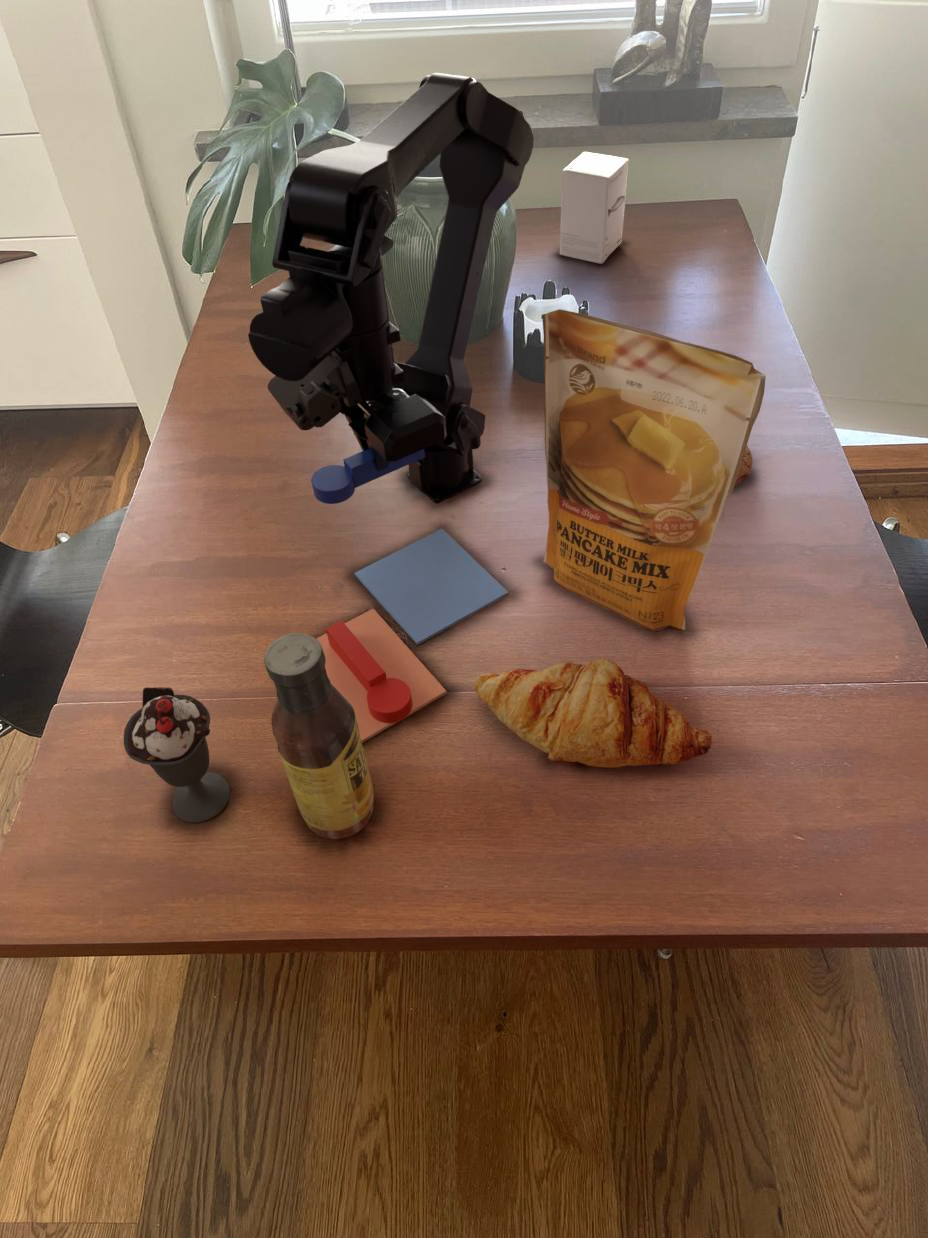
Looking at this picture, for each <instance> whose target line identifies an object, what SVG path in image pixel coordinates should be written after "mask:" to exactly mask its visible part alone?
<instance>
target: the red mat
mask: <svg viewBox="0 0 928 1238" xmlns="http://www.w3.org/2000/svg"><path fill="white" fill-rule="evenodd" d="M344 623H345V625H346V626H347V627H348V628H349V629H350V631H351V632H352V633H353V634H354V635H355V637H356V638H357V639H358V640H359V641H360V642H361V644H362V645H363V646H364V647H365V648H366V650H367V651H368V652H369V653H370V654H371V656H372V657H373V658H374V659H375V660H376V661H377V663H378V664H379V665H380V666H381V667H382V669H383V670H384V671H385V672H386V678H397V679H400V680H402V681H404V682H405V683H406V684H407V685H408V686H409V688H410V690H411V696H412V702H413V705H412V709H411V711H410V713H409V714H408V715H407V716H406V717H405V718H407V717H409V716H410V715H413V714H414V713H415V712H418V711H419V710H421V709H422V708H425V707H426V706H428V705H429V704H432V702H435V701H436V700H438V699H440V698H441V697H443V696H445V695H446V694H447V690H446V689H445V688H444V687H443V685H442V684H441V683H440V682H439V680H437V678H436V677H435V676H434V675H433V674H432V673H431V672H430V671H429V670H428V668H427V667H426V666H425V665H424V664H423V663H422V662H421V660H420V659H419V658H418V657H417V656H416V655H415V654H414V653H413V651H412V650H411V649H410V648H409V647H408V646H407V645H406V643H405V642H404V641H403V640H402V639H401V637H399V635H397V634H396V632H395V631H394V630H393V629H392V627H390V625H388V623H387V622H386V621H385V620H384V619H383V618H382V616H380V614H379V613H378V612H377V611H376V610H375V608H372V609H370V610H368V611H366V612H364V613H362V614H360V615H358V616H356V617H354V618H352V619H351V620H348V621H347V622H344ZM316 639H317V640H318V641H319V643H320V644H321V646H322V649H323V652H324V655H325V660H326V663H325V669H326V673H327V676H328V678H329V680H330V683H331V684H332V685H333V686H334V687H335V688H336V689H337V690H338V691H339V693H340V694H341V695H342V696H343V697H344V698H345V699H346V700H347V701H348V702H349V703H350V704H351V705H352V707H353V709H354V712H355V716H356V720H357V724H358V728H359V732H360V736H361V740H362V744H363V743H365V742H366V741H368V740H369V739H371V738H373V737H374V736H377V735H379V734H380V733H382V732H383V731H385V730H387V729H389V728H390V727H392V726H394V725H395V724H397V723H399V722H400V721H398V722H395V723H383V722H380V721H378V720H376V719H375V718H374V717H373V716H372V715H371V714H370V711H369V707H368V703H367V693H368V692H367V690H366V689H365V688H364V687H363V685H362V684H361V683H360V682H359V680H358V679H357V678H356V677H355V676H354V674H353V673H352V672H351V671H350V669H349V668H348V667H347V666H346V664H345V663H344V662H343V661H342V659H341V658H340V657H339V656H338V655H337V653H336V652H335V651H334V650H333V648H332V647H331V646H330V644H329V640H328V636H327V632H326V633H324V634H322V635H320V636H319V637H316Z"/></svg>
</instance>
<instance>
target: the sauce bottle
mask: <svg viewBox="0 0 928 1238" xmlns="http://www.w3.org/2000/svg"><path fill="white" fill-rule="evenodd" d="M263 658H264V660H263V661H264V666H265V669H266V671H267V674H268V676H269V678H270V679H271V681H272V682H273V684H274V687H275V690H276V697H277V700H276V702H275V704H274V706H273V709H272V713H271V719H270V721H271V723H270V724H271V727H272V728H271V729H272V735H273V736H274V738H275V741H276V744H277V745H276V746H277V752H278V754H279V757H280V760H281V763H282V766H283V769H284V771H285V774H286V776H287V780H288V783H289V786H290V788H291V790H292V794H293V797H294V799H295V802H296V805H297V808H298V810H299V813H300V815H301V817H302V818H303V820H304V822H305V824H306V826H307V827H308V828H309V830H311V831H312V833H313V832H314V833H315V834H316V835H317V836H319V837H320V838H323V839H327V840H341V839H347V838H350V837H352V836H354V835H356V834H358V833H359V832H360V831H361V830H363V829H364V827H366V826H367V824H368V822H369V821H370V819H371V816H372V814H373V811H374V807H375V805H374V801H375V800H374V799H375V797H374V795H375V793H374V792H375V791H374V786H373V782H372V778H371V774H370V771H369V766H368V762H367V757H366V754H365V749H364V745H363V743H362V740H361V736H360V732H359V728H358V724H357V720H356V716H355V712H354V709H353V707H352V705H351V704H350V703H349V702H348V701H347V700H346V699H345V698H344V697H343V696H342V695H341V694H340V693H339V691H338V690H337V689H336V688H335V687H334V686H333V685H332V684H331V683H330V680H329V678H328V676H327V673H326V669H325V663H326V660H325V655H324V652H323V649H322V646H321V644H320V643H319V641H318V640H317V637H314V635H310V634H307V633H305V632H304V633H303V632H292V633H287V634H284V635H282V636H280V637H278V638H276V639H275V640H274V641H273V642H271V643H270V644H269V645H268V647H267V649H266V650H265V653H264V657H263Z"/></svg>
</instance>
